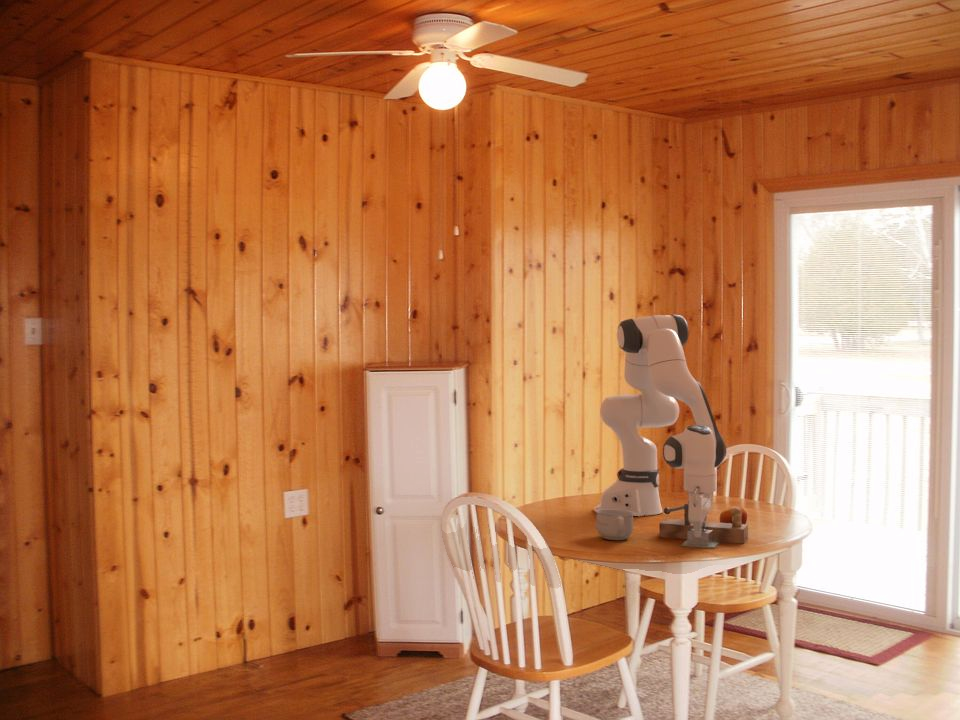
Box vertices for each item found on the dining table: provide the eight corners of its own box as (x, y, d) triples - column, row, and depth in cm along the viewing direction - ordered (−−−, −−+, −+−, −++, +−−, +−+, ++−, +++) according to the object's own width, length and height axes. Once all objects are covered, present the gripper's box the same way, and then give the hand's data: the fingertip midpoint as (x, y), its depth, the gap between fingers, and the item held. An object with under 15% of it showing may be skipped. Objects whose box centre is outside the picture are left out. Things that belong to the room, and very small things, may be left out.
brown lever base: (659, 537, 277) (659, 502, 277) (665, 532, 283) (665, 498, 283) (743, 543, 267) (743, 508, 266) (747, 538, 273) (747, 503, 273)
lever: (682, 525, 276) (661, 512, 278) (684, 523, 279) (664, 510, 281) (701, 492, 273) (679, 479, 276) (703, 490, 276) (682, 478, 279)
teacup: (596, 534, 282) (595, 507, 282) (633, 534, 281) (632, 507, 281) (597, 545, 268) (596, 516, 268) (635, 545, 267) (635, 517, 267)
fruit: (737, 529, 279) (727, 503, 282) (721, 538, 285) (712, 513, 289) (757, 526, 283) (747, 501, 286) (741, 535, 289) (732, 511, 292)
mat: (681, 546, 265) (681, 544, 265) (687, 540, 271) (687, 539, 271) (714, 548, 261) (714, 547, 261) (719, 543, 268) (719, 541, 268)
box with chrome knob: (687, 543, 266) (687, 529, 266) (692, 540, 270) (692, 526, 270) (708, 545, 263) (708, 531, 263) (713, 542, 267) (713, 528, 267)
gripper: (706, 491, 255) (706, 542, 256) (715, 478, 274) (716, 526, 275) (682, 489, 257) (683, 540, 258) (693, 477, 276) (693, 525, 277)
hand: (700, 533), depth 267 cm, fingers open, 8 cm apart
